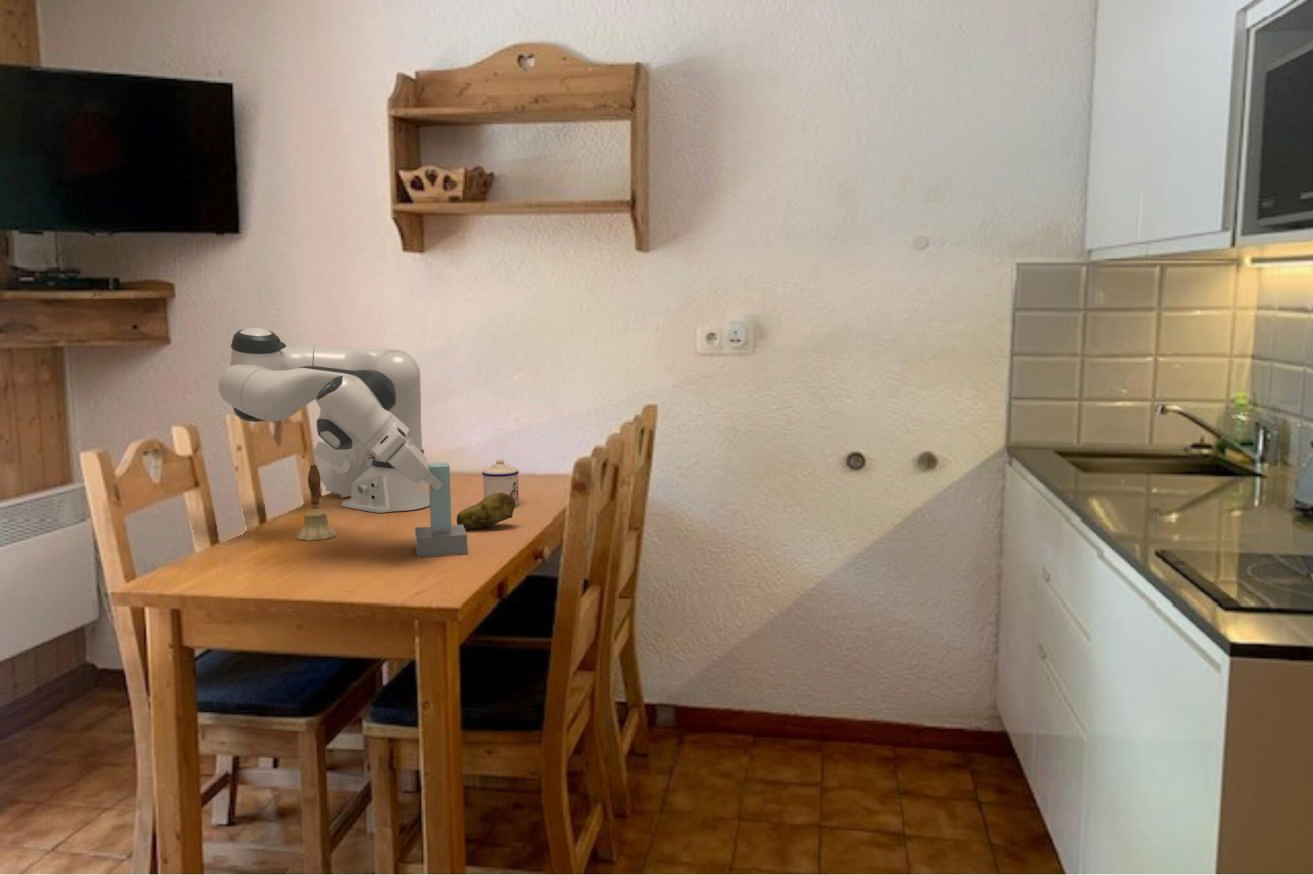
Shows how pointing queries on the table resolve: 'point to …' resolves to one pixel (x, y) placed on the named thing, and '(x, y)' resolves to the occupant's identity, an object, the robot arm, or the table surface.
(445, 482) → the teal block
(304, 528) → the hand bell
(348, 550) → the table surface
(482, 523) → the potato
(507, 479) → the teacup with lid
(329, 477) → the spiral staircase
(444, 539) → the slate slab
